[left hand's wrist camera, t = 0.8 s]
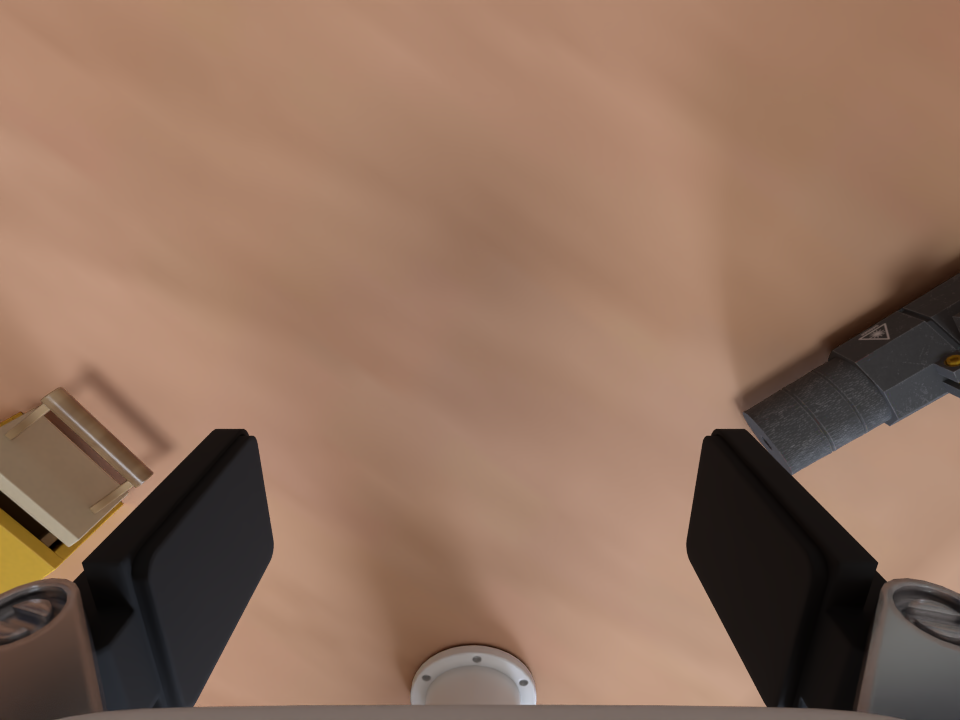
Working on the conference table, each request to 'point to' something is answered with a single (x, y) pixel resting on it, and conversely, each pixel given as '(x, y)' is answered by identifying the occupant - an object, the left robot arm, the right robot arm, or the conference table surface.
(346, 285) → the conference table surface
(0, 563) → the cabinet
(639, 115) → the conference table surface
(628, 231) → the conference table surface
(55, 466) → the drawer
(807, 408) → the laser sight
